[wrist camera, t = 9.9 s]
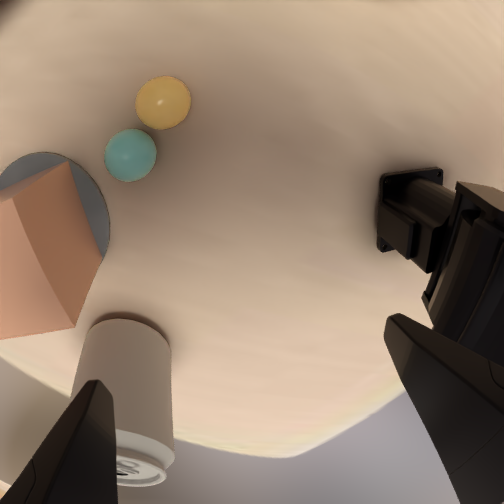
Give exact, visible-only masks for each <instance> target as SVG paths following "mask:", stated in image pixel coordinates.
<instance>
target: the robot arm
mask: <svg viewBox="0 0 504 504" xmlns="http://www.w3.org/2000/svg"><path fill="white" fill-rule="evenodd" d="M437 174H438V175H437ZM387 179H388V182H387V183H385V182H386V180H387ZM442 185H443V170H442V169H440V168H438V167H434V168H426V169H418V170H410V171H402V172H395V173H387V174H383V175H382V176H381V178H380V200H379V208H378V230H377V233H378V242H377V248H378V250H379V251H381V252H382V253H383V252H388V251H391V250H395V249H396V250H397V251H398V252H399V253H400V254H401V255H402V256H403V257H405V258H406V259H407V260H409V259H411V260H412V261H413V262H414V263H415V264H416V265H418V266H419V267H420V268H421V269H422V270H423V271H424V272H425V273H426V274H428V273H431V272H432V274H431V277H430V280H429V283H428V285H427V288H426V290H425V291H424V292H423V295H422V297H421V298H422V301H423V303H424V305H425V307H426V309H427V312H428V314H429V316H430V319H431V321H432V324H433V325H434V326H433V328H432V329H430V328H428V327H426V326H424V325H422V324H420V323H418V322H416V321H414V320H412V319H411V318H409V317H407V316H405V315H403V314H400V313H397V314H394V315H391V316H389V317H388V318H387V320H386V325H385V330H384V341H385V343H386V346H387V348H388V351H389V353H390V355H391V358H392V360H393V363H394V365H395V367H396V370H397V372H398V375H399V377H400V379H401V381H402V383H403V385H404V387H405V389H406V391H407V393H408V395H409V397H410V398H411V400H412V402H413V404H414V406H415V408H416V410H417V412H418V414H419V416H420V418H421V419H422V422H423V424H424V425H425V428H426V430H427V431H428V433H429V435H430V437H431V440H432V442H433V444H434V446H435V448H436V450H437V452H438V454H439V456H440V458H441V461H442V463H443V464H444V467H445V469H446V471H447V474H448V475H449V478H450V481H451V483H452V485H453V488H454V490H455V492H456V494H457V497H458V499H459V501H460V504H504V192H502V191H500V190H497V189H495V188H493V187H488V186H483V185H478V184H472V183H466V182H460V181H457V183H456V188H455V190H456V193H455V192H453V191H451V190H449V189H447V188H445V187H443V186H442ZM383 245H384V247H383ZM0 504H118V492H117V444H116V429H115V417H114V401H113V396H112V394H111V393H110V391H109V390H108V389H107V388H106V386H105V385H104V384H103V382H102V381H101V380H99V379H92V380H88V381H87V382H86V383H85V384H84V385H83V387H82V388H81V389H80V391H79V392H78V393H77V395H76V396H75V397H74V399H73V400H72V402H71V403H70V404H69V406H68V407H67V408H66V410H65V411H64V412H63V414H62V415H61V417H60V418H59V419H58V421H57V422H56V424H55V425H54V426H53V428H52V429H51V431H50V432H49V434H48V435H47V436H46V438H45V439H44V441H43V442H42V444H41V445H40V447H39V448H38V449H37V451H36V452H35V454H34V455H33V457H32V459H31V460H30V461H29V462H28V464H27V465H26V467H25V468H24V470H23V471H22V473H21V474H20V476H19V477H18V478H17V479H16V481H15V482H14V483H13V485H12V486H11V487H10V488H9V490H8V491H7V492H6V493H5V495H4V496H3V497H2V498H1V500H0Z"/></svg>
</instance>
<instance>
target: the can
mask: <svg viewBox="0 0 504 504" xmlns="http://www.w3.org/2000/svg"><path fill="white" fill-rule="evenodd" d="M92 379H99V380H101V381H102V382H103V384H104V385H105V386H106V388H107V389H108V390H109V391H110V393H111V394H112V396H113V401H114V417H115V429H116V444H117V485H123V486H151V485H155V484H158V483H161V482H163V481H164V480H165V479H166V472H165V471H164V470H165V469H166V468H167V467H168V466H170V464H172V462H173V461H174V460H175V454H174V439H173V420H172V393H171V350H170V348H169V345H168V343H167V341H166V340H165V339H164V338H163V337H162V336H161V335H160V333H159V332H157V331H156V330H154V329H152V328H151V327H149V326H147V325H146V324H143V323H140V322H137V321H134V320H128V319H110V320H104V321H102V322H100V323H98V324H96V325H94V326H93V327H92V328H91V329H90V330H89V332H88V333H87V335H86V339H85V342H84V346H83V349H82V353H81V356H80V360H79V364H78V368H77V372H76V376H75V380H74V384H73V388H72V393H71V397H70V402H69V404H70V403H71V402H72V400H73V399H74V397H75V396H76V395H77V393H78V392H79V391H80V389H81V388H82V387H83V385H84V384H85V383H86V382H87V381H88V380H92Z"/></svg>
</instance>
